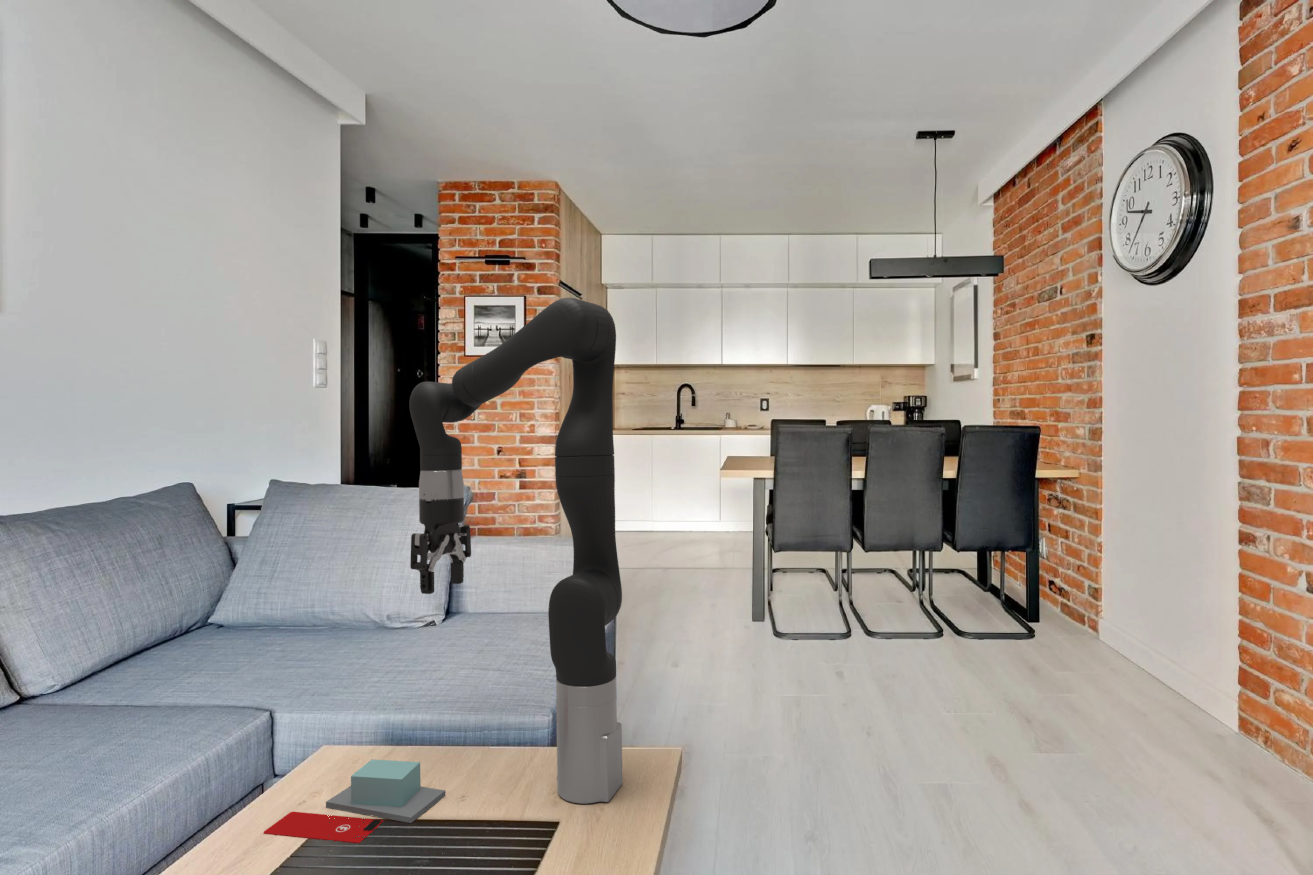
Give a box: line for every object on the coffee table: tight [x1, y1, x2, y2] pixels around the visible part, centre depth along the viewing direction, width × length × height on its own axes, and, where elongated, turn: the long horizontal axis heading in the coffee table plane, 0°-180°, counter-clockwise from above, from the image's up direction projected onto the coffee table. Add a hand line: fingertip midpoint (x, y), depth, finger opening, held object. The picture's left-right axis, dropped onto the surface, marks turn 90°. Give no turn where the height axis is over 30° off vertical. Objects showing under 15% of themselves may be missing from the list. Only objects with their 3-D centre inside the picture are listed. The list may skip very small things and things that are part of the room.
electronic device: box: [263, 811, 384, 844], centre depth 98 cm, size 6×1×15 cm
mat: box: [325, 785, 446, 824], centre depth 104 cm, size 15×8×1 cm, turn 72°
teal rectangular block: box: [350, 759, 421, 807], centre depth 104 cm, size 6×8×4 cm
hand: (442, 588), depth 123 cm, fingers open, 8 cm apart
